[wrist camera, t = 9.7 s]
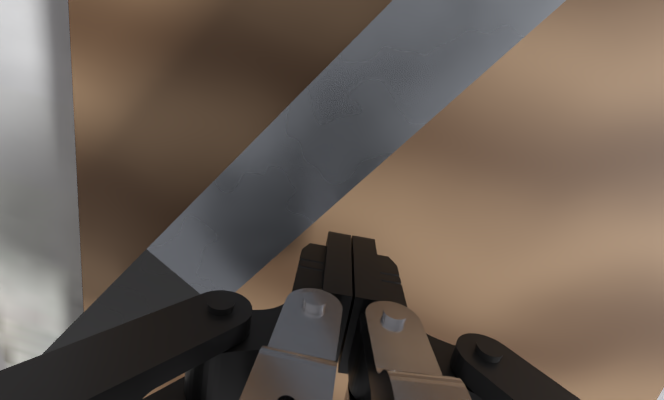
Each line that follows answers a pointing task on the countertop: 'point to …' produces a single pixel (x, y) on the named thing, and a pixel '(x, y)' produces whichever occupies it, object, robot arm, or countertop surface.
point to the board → (407, 170)
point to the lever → (317, 150)
